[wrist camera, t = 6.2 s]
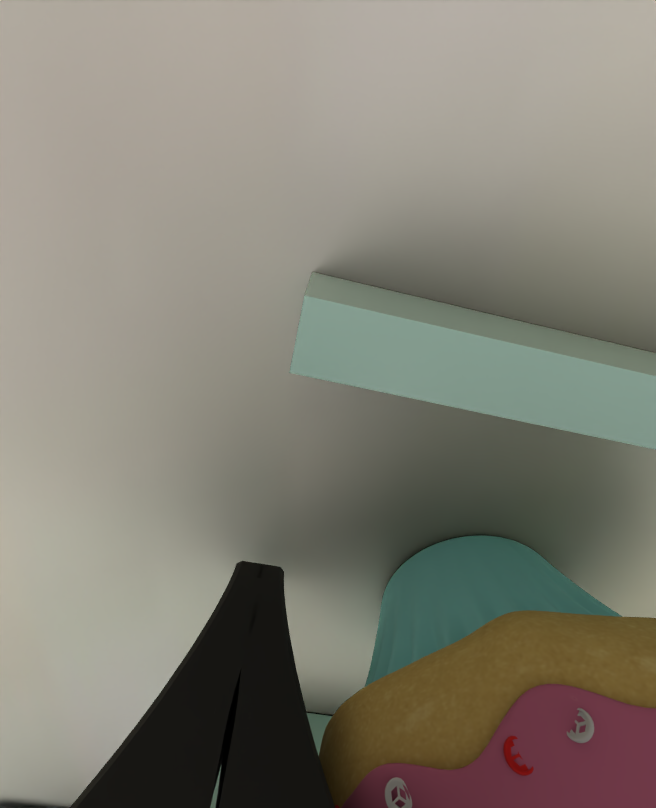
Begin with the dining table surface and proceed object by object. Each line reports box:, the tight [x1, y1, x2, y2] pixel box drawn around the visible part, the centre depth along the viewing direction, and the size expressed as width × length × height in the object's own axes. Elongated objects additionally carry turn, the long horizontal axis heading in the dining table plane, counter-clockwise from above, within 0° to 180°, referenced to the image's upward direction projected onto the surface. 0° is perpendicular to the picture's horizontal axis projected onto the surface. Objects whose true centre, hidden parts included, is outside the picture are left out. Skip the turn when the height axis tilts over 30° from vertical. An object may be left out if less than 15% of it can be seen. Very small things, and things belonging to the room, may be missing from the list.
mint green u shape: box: [210, 272, 656, 808], centre depth 10 cm, size 15×16×3 cm
